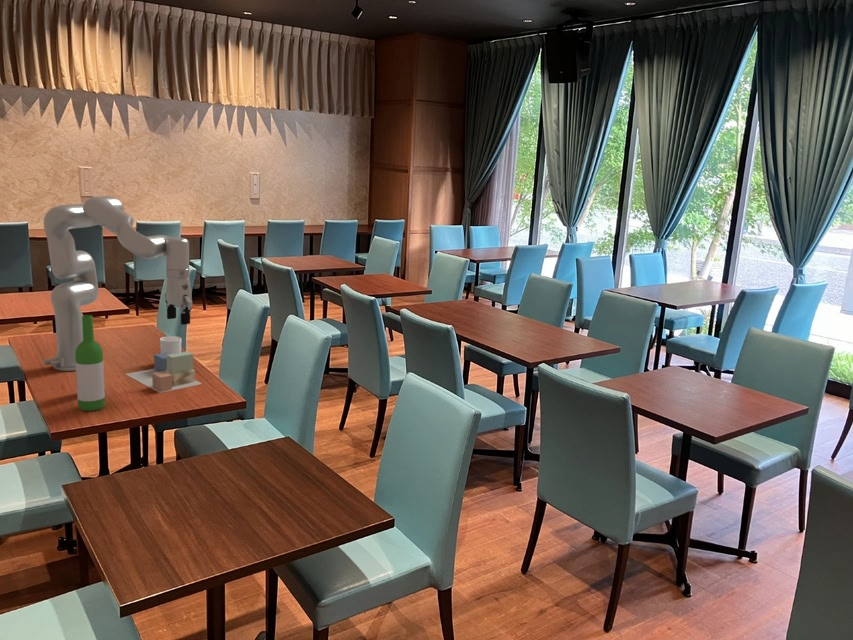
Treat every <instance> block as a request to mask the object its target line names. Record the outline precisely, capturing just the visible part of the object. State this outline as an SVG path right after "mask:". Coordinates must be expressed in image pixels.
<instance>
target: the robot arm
mask: <svg viewBox="0 0 853 640" xmlns="http://www.w3.org/2000/svg"><path fill="white" fill-rule="evenodd" d="M123 206H124V205H123V203H122V202H121V201H120V200H119V198H116V197H115V196H111V195H105V196H103V195H101V196H92V197H90V198H88V199H87V200H85V201H84V203H75V204H72V203H71V204H61V205H57V206H54V207H52V208H50V209H49V210H48V211H47V212H46V213H45V215H44V217H43V228H44V233H45V235H46V240H47V246H48V247H47V248H48V252H49V261H50V268H51V271H52V274H53V276H54V277H55V278H57V279H59V280H69V279H73V280H71V281H67V282H64V283H63V282H62V283H61V284H60V283H59V284H58V285H56V286H55V287H54V288H53V289H52V291H51V293H50V301H51V305H52V307H53V312H54V319H55V321H54V322H55V331H56V347H57V350H56V351H57V354H55V355H54V357H52V358H47V359H43V366H46V365H50V366H53V369H55V370H57V371H61V372H62V371H63V372H72V371H73V372H74V371H75V372H76V357H75V352H76V348H77V347H78V345H79V344H80V343H81V342H82V341H83V327H82V316H83V315H84V314H83V312H82V310H81V308H80V307H83V306H87V305H90V304H93V303H94V302H96V301H97V299H98V297H99V285H98V276H97V269H96V263H95V261H94V258H93V257H92V255H91V254H90V253H88V252H87V251H84V250H76V244H75V243H76V242H75V239H74V236H73V235H72V234H71V232H70V230H72V229H82V228H91V227H94V226H95V227H96V226H97V225H99V226H101V228H104V229H106V230H107V231H109V232H110V233H112V234H114V235H115V236H116V237H117V240H118V241H119V243H120V245H122V247H123V248H125V250H128V251H129V252H131V253H132V254H133V255H135V256H138V257H139V258H141V259H144V260H150V259H151V260H152V259H156V258H162V257H165V266H166V267H165V270H166V272H165V275H166V277H165V278H166V285H165V286H166V288H165V289H166V290H165V291H166V293H164V299H165V303H166V318H167V320H173V319H176V318H177V307H178V308H179V309H180V311H181V313H180V325H182V326H183V325H189V324H191V313H192V309H193V298H192V297H193V296H192V286H191V285H192V284H191V280H190V241H189V240H188V239H187V238H185V237H179V236H178V237H174V236H169V235H166V234H155V235H150V236H149V235H148V236H146V235H143V234H141V233H140V232H139V231H137V230H135V229H134V228H133V226H134V218H133V216H132V215H131V214H129V213H127V212H126V211H124V207H123Z"/></svg>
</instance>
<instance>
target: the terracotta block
mask: <svg viewBox="0 0 853 640" xmlns="http://www.w3.org/2000/svg"><path fill="white" fill-rule="evenodd" d="M152 382H153V387H154V388H156V389H157V390H159V391H166V390H170V389H172V375H170V374H168V373H166V372H164V371H161V372H156V373H152Z"/></svg>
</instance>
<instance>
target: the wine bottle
mask: <svg viewBox="0 0 853 640" xmlns="http://www.w3.org/2000/svg"><path fill="white" fill-rule="evenodd" d="M93 318H94V316H93V314H83V316H82V327H83V341H82V342H81V343H80V344H79V345H78V347H77V348H76V352H75V357H76V371H75V372H76V374H75V375H76V390H77V391H76V395H77V405H78V409H79V410H81V411H83V412H95V410H96V411H98V410H99V411H100V410H101V409H103V408H104V407H105V405H106V392H105V391H106V389H105V371H104V369H105V368H104V352H103V348H102V346H101V345H100V344H99V343H98V341H96V340H95V336H94V320H93Z"/></svg>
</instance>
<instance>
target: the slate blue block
mask: <svg viewBox="0 0 853 640" xmlns="http://www.w3.org/2000/svg"><path fill="white" fill-rule="evenodd" d="M167 355H168V354H166V353H161V352H160V353H155V354H154V355H153V357H154V358H153V360H154V369H155V370H156V371H158V372H161V371H164V372H166V370H167Z"/></svg>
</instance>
